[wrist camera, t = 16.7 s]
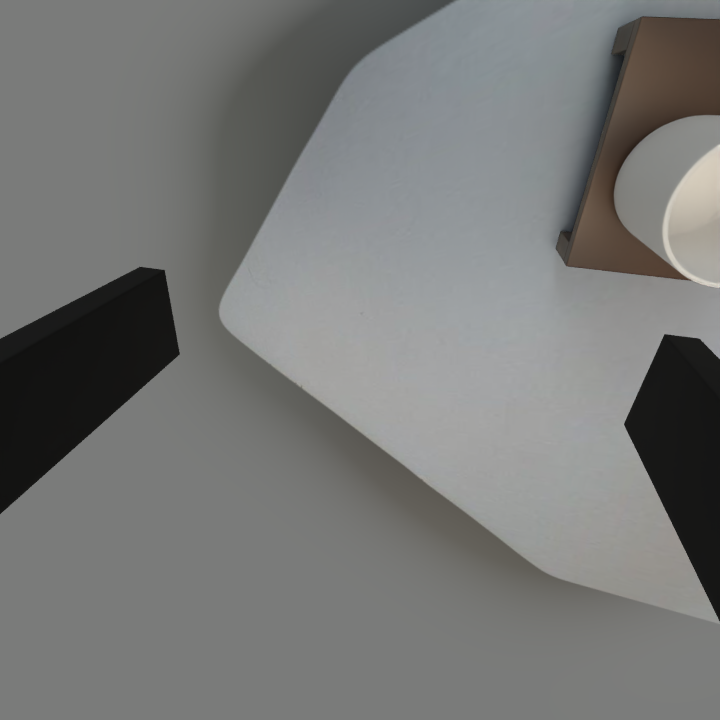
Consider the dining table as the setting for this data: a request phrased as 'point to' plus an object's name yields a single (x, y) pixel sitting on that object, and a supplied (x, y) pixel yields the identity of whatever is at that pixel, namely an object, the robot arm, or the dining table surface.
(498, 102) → the dining table surface
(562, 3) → the dining table surface
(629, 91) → the shelf
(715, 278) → the cup
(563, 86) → the dining table surface
